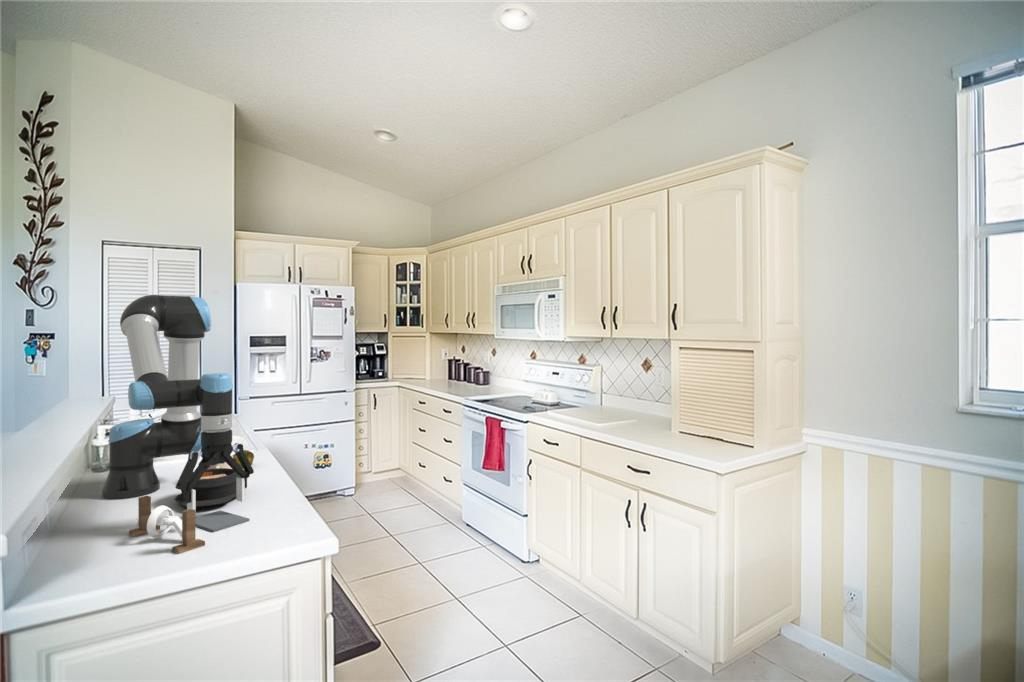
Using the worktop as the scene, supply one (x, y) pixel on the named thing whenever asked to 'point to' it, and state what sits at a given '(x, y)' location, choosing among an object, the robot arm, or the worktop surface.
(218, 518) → the mat
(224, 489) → the casserole
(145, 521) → the rack
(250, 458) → the potato
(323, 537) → the worktop surface
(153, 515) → the white vr controller
